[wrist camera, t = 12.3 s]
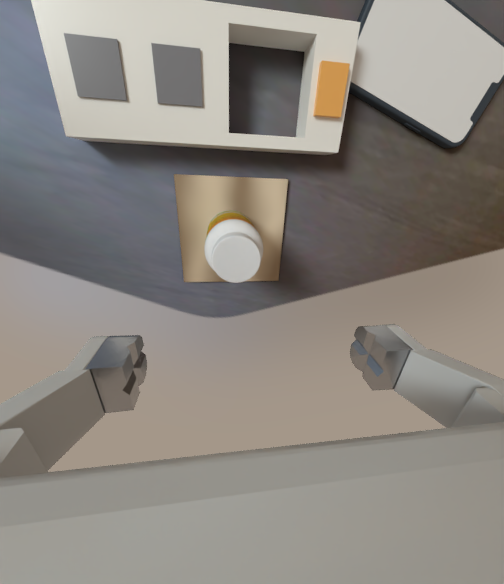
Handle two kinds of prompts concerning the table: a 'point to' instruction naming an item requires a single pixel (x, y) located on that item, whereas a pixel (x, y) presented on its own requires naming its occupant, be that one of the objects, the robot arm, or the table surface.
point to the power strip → (187, 71)
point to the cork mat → (222, 197)
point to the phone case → (426, 66)
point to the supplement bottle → (233, 246)
